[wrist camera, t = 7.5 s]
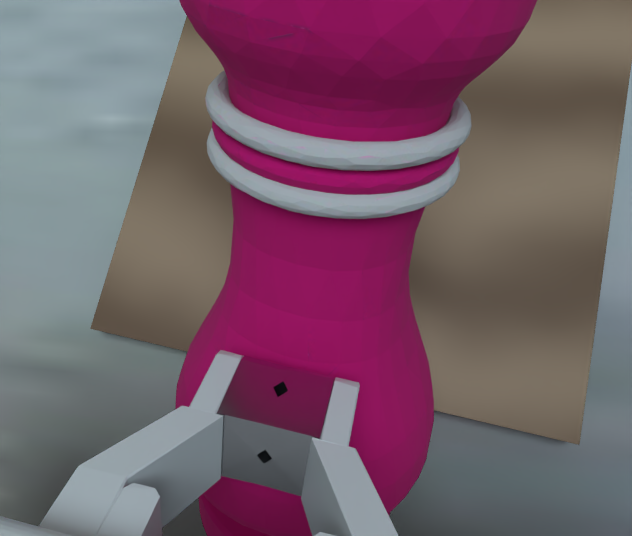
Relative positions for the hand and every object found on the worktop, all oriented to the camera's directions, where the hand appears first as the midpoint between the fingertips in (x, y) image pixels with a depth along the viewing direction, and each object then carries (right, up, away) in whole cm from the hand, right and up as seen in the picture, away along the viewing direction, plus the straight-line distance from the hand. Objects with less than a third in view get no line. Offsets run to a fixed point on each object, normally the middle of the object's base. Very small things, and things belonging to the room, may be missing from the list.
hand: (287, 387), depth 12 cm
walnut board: (+4, +11, +12) cm, 16 cm away
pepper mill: (0, -5, +7) cm, 9 cm away
